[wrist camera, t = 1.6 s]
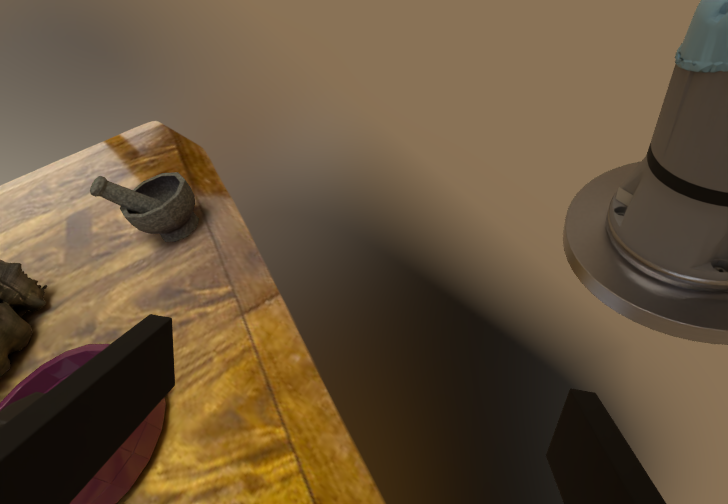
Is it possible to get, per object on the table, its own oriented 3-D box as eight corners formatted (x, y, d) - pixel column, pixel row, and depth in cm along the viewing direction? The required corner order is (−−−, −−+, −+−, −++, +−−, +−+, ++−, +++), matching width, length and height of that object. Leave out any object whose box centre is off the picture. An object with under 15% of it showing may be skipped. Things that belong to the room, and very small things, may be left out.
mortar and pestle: (207, 197, 66) (162, 135, 57) (212, 232, 59) (163, 167, 51) (142, 226, 65) (87, 167, 56) (140, 264, 58) (78, 204, 50)
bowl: (158, 340, 48) (127, 316, 44) (182, 470, 37) (144, 453, 33) (20, 420, 45) (-26, 402, 41) (1, 587, 34) (-64, 584, 30)
